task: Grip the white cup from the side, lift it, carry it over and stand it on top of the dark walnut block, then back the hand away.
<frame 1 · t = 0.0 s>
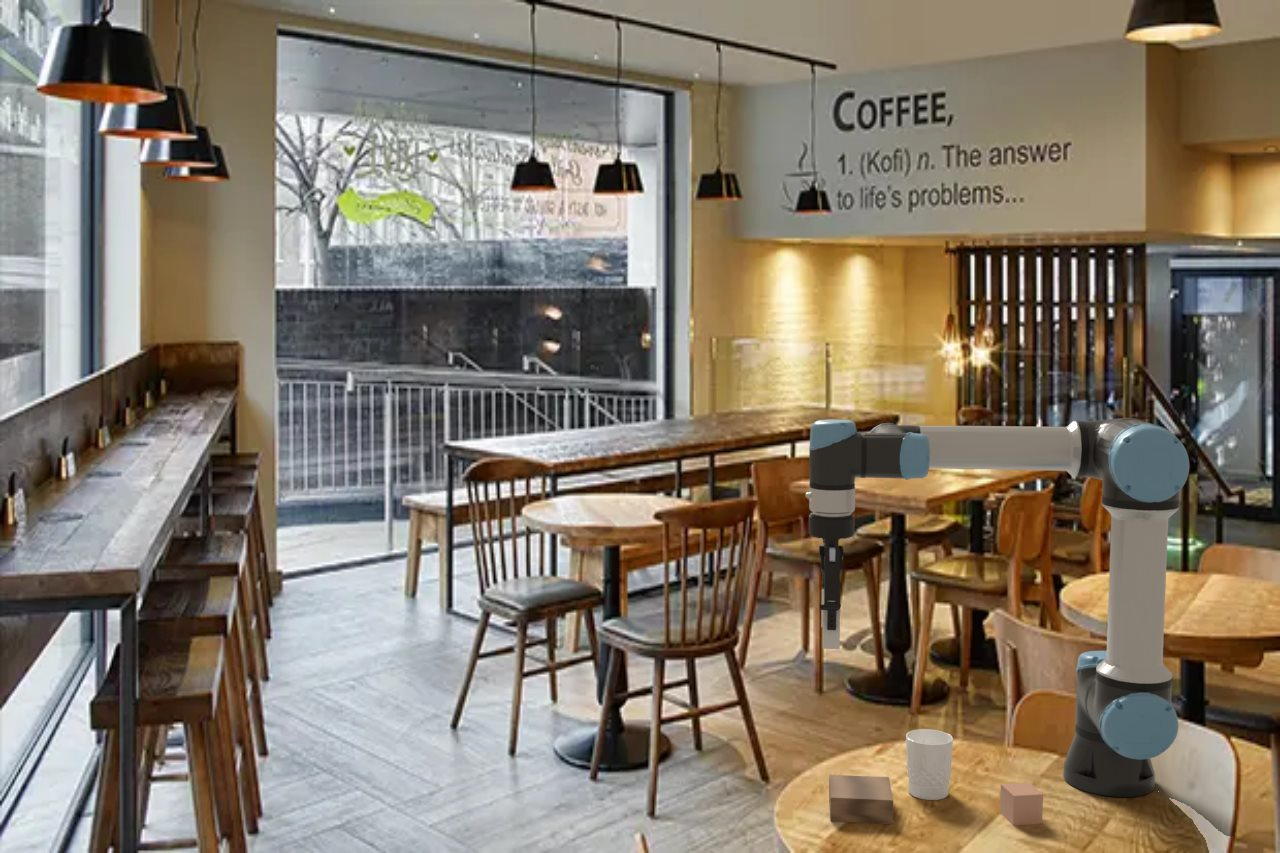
hand: (830, 637, 214), 28 cm above the table, tool pointing down, fingers open, 13 cm apart
terracotta cube: (1020, 818, 209), on the table
walnut block: (860, 810, 212), on the table
white cup: (928, 794, 219), on the table
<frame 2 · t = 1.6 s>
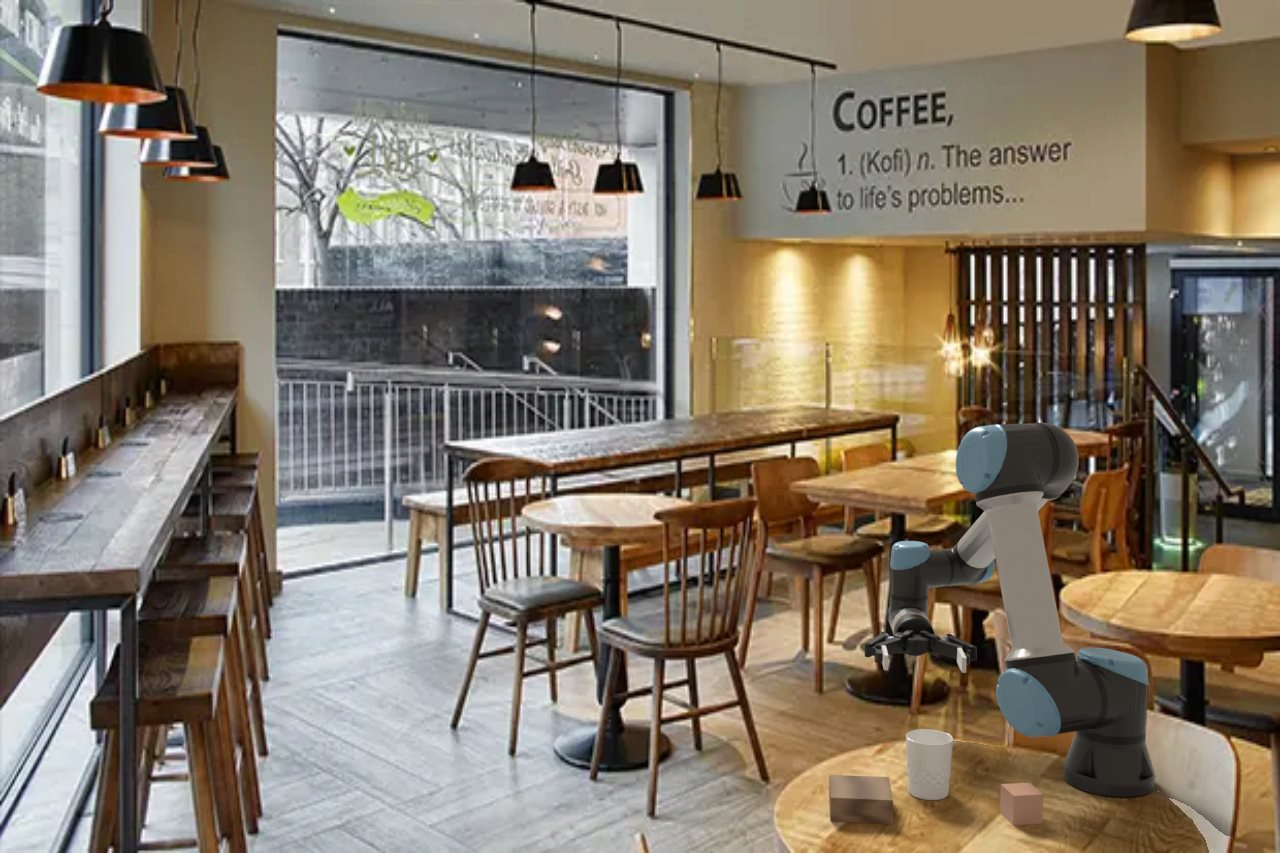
hand: (925, 664, 226), 20 cm above the table, tool horizontal, fingers open, 13 cm apart
nothing on the table moved.
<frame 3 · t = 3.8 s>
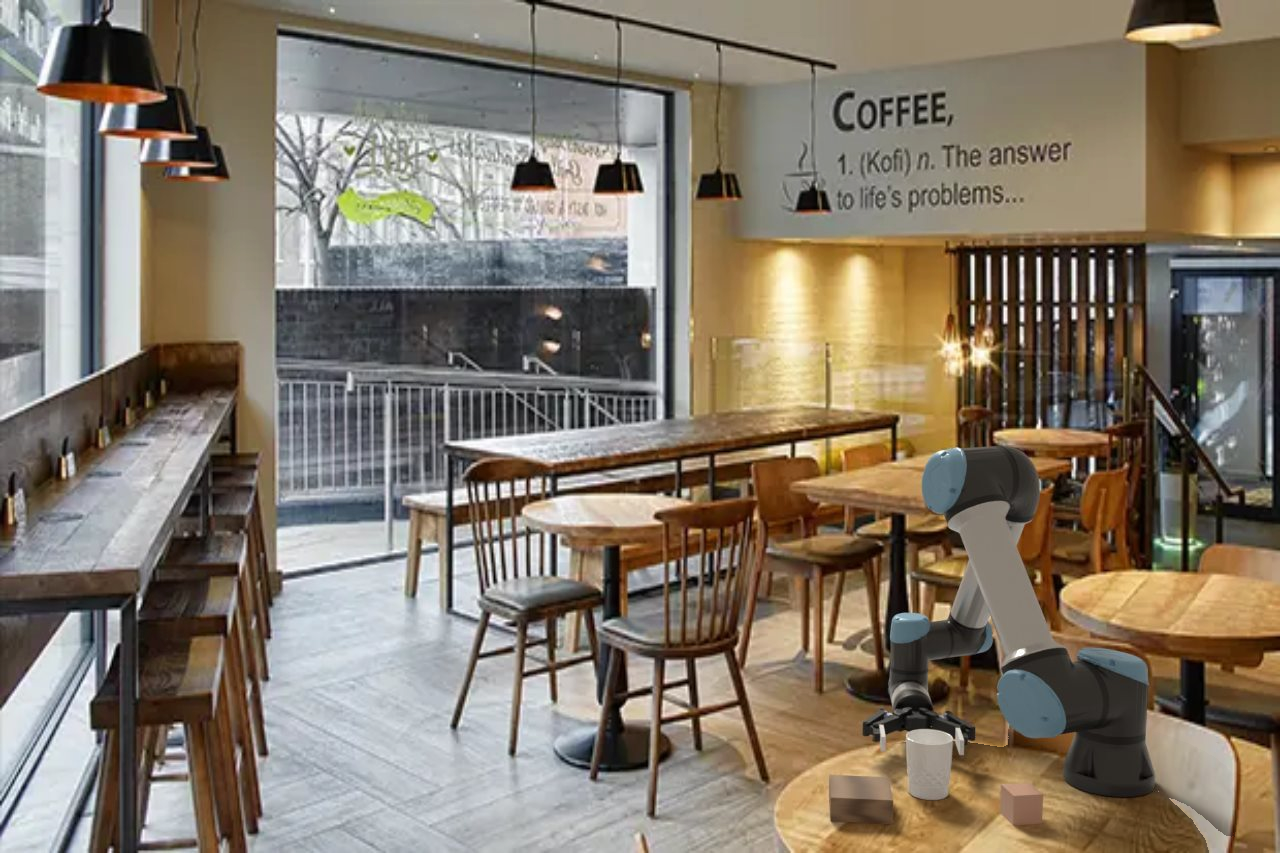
hand: (922, 746, 225), 6 cm above the table, tool horizontal, fingers open, 13 cm apart
nothing on the table moved.
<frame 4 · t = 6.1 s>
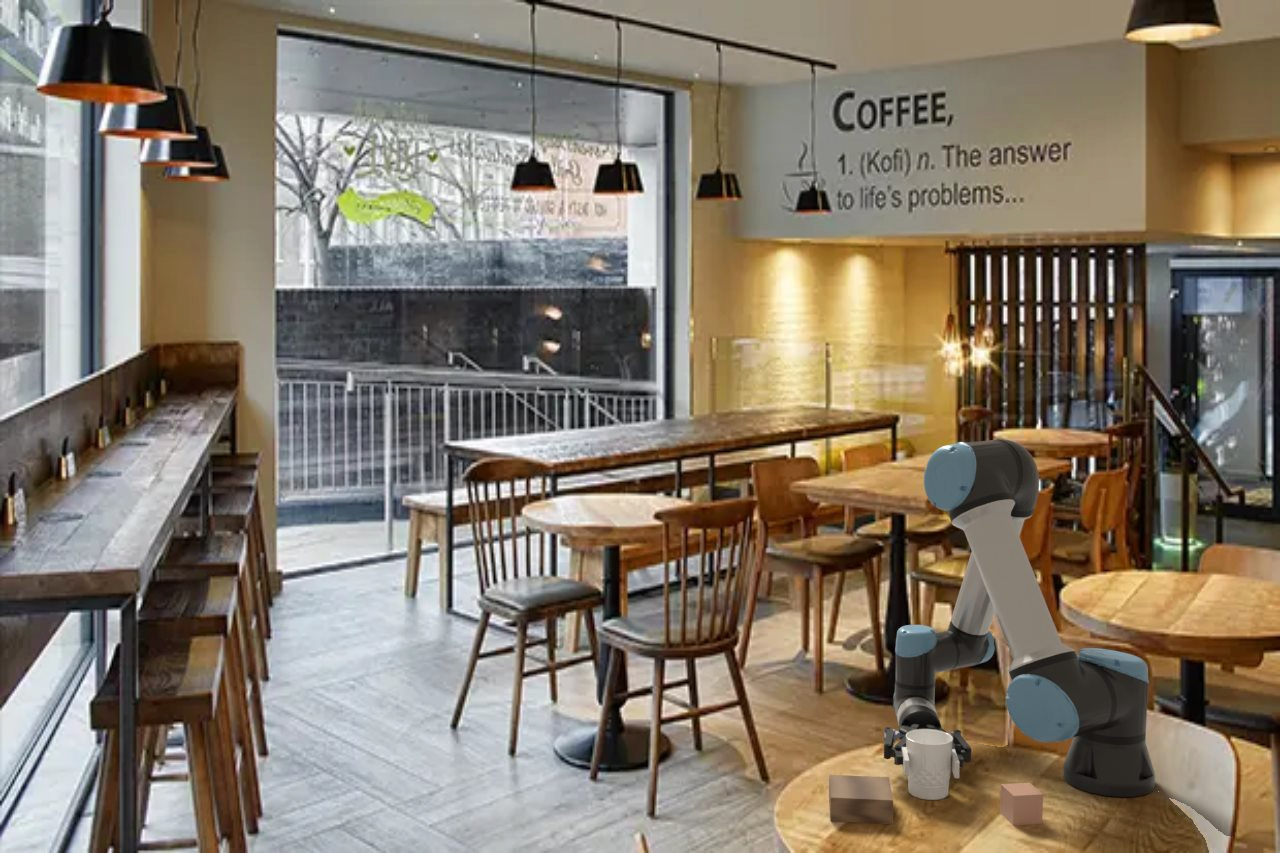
hand: (931, 769, 214), 6 cm above the table, tool horizontal, fingers closed on white cup, 7 cm apart
white cup: (928, 793, 219), on the table, touching gripper
everything else where it was.
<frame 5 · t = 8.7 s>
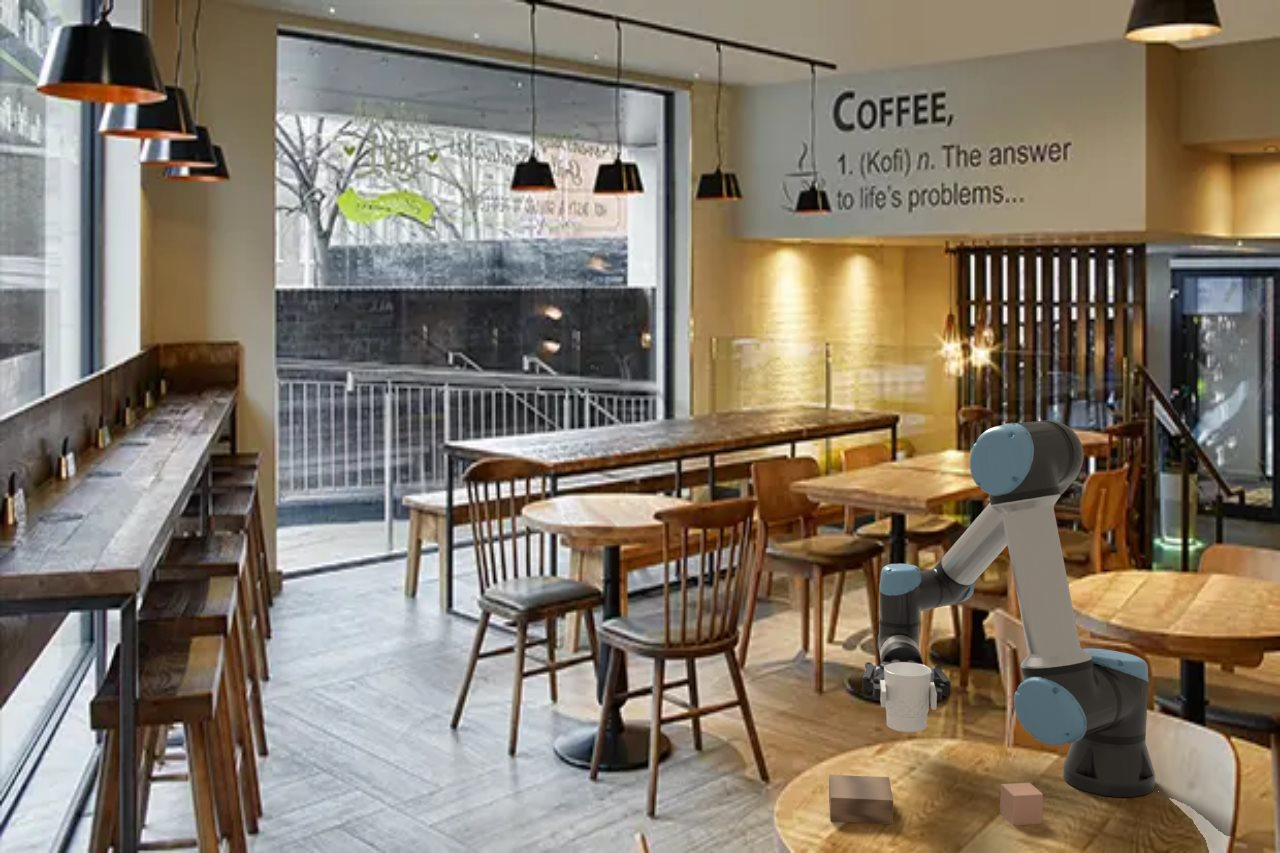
hand: (908, 700, 212), 18 cm above the table, tool horizontal, fingers closed on white cup, 7 cm apart
white cup: (906, 727, 217), point 12 cm above the table, touching gripper
everything else where it was.
when the fingers open (11 cm above the table, at t = 11.4 s): white cup drops 1 cm, resting on walnut block.
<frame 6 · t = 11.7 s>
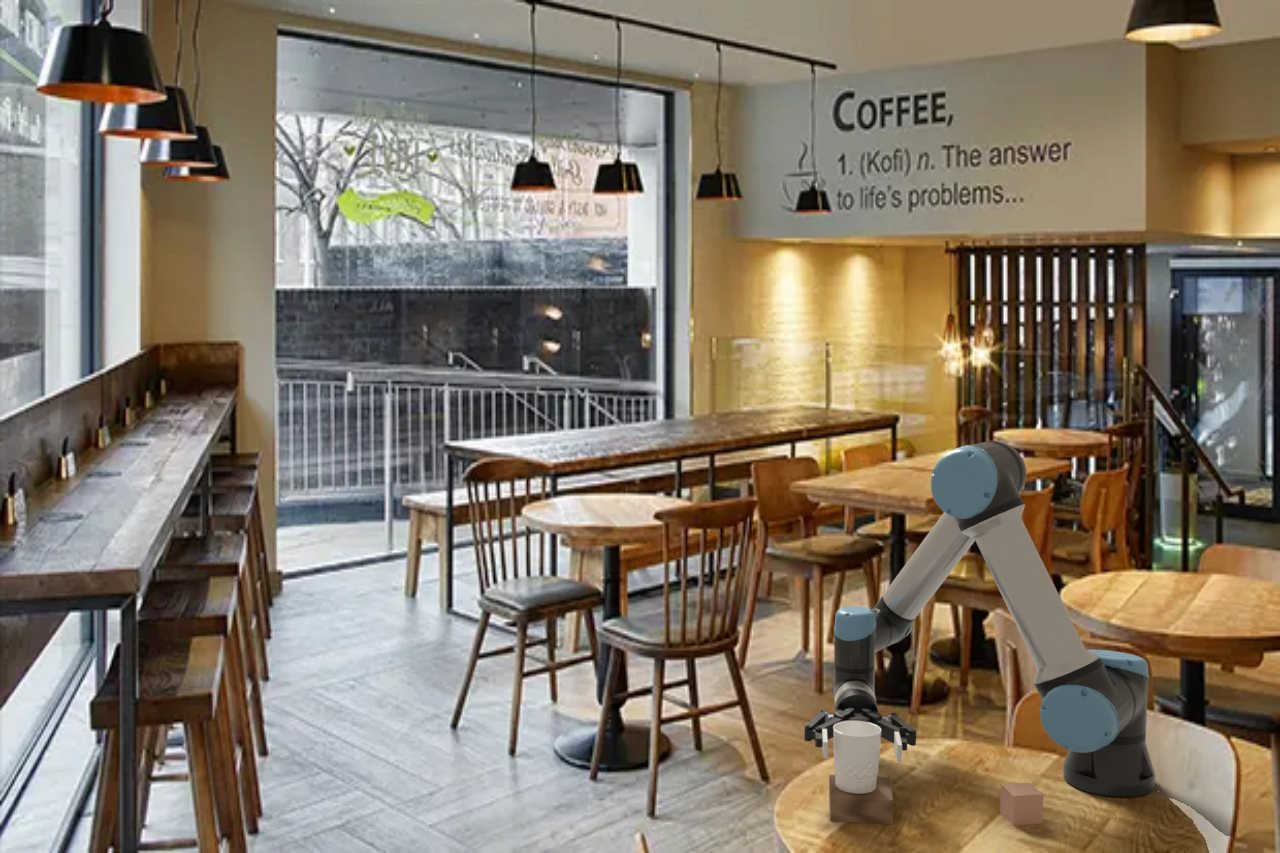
hand: (862, 751, 207), 11 cm above the table, tool horizontal, fingers open, 11 cm apart
white cup: (855, 787, 212), point 4 cm above the table, touching walnut block
everything else where it was.
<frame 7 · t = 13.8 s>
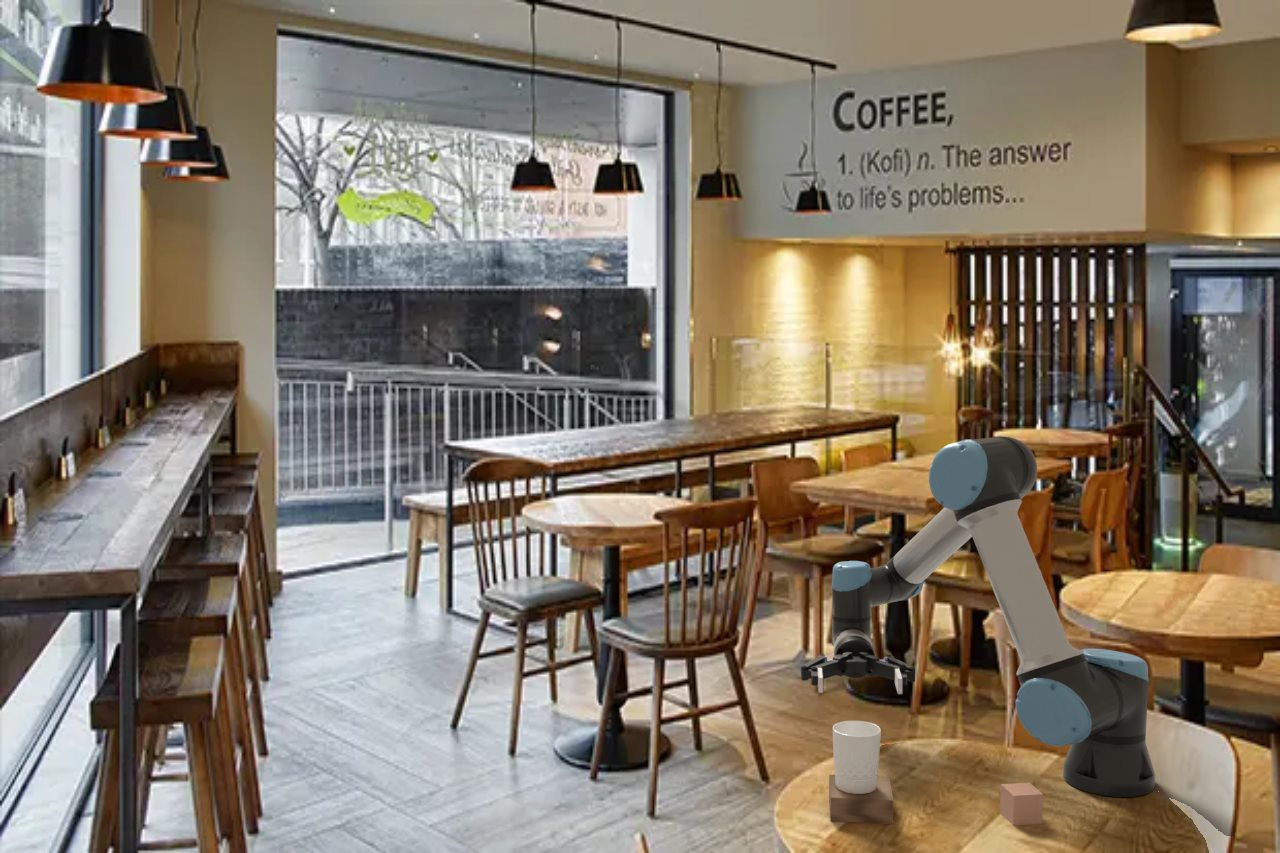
hand: (860, 685, 221), 18 cm above the table, tool horizontal, fingers open, 13 cm apart
nothing on the table moved.
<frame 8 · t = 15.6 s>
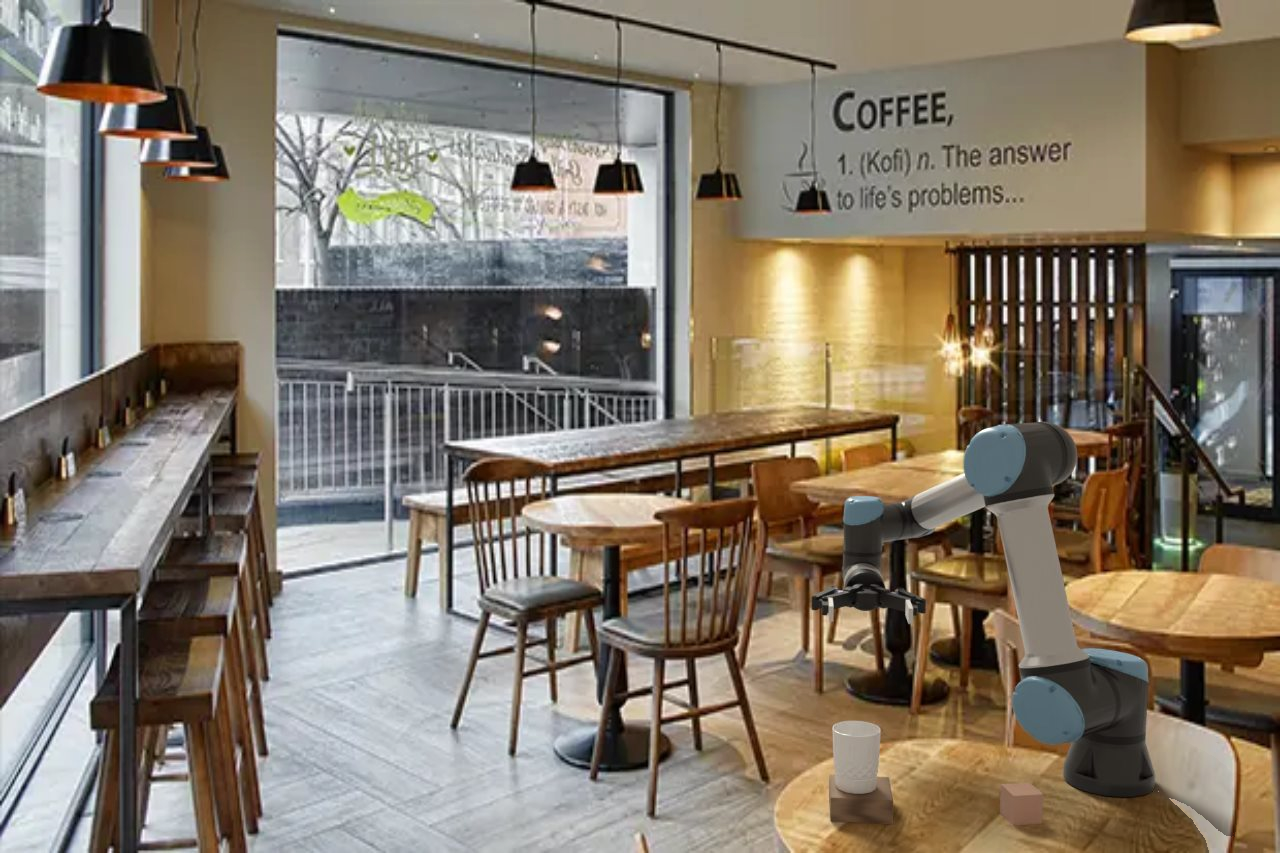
hand: (870, 615, 221), 30 cm above the table, tool horizontal, fingers open, 13 cm apart
nothing on the table moved.
at the end: white cup inside the target area on the walnut block (0.8 cm from its centre), point 3.8 cm above the walnut block's base; white cup tilted 0°; the gripper is holding nothing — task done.
